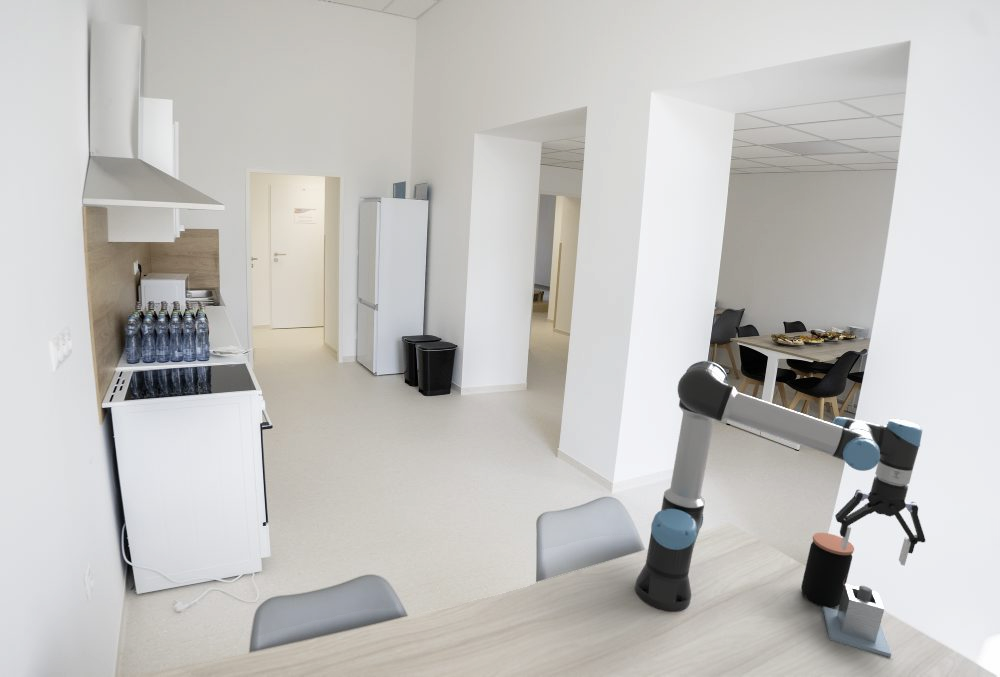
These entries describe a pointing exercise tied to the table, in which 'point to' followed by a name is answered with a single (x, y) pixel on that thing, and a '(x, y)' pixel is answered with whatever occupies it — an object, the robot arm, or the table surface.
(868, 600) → the blue base with peg
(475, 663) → the table surface
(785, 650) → the table surface
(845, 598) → the square metal tube
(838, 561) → the coffee jar
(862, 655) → the table surface
